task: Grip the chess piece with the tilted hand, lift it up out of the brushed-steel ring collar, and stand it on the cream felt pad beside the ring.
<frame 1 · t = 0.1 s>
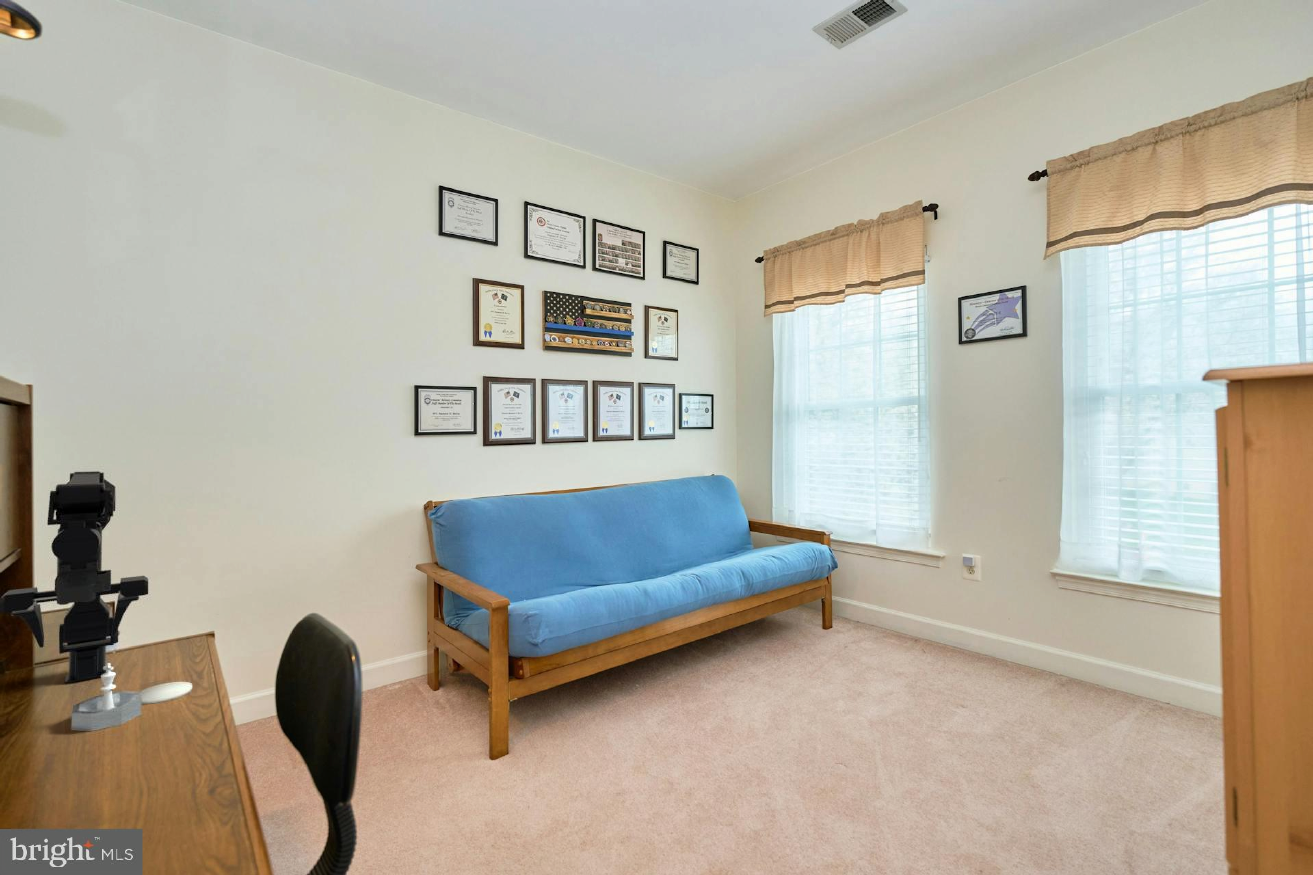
hand: (78, 641, 106), 15 cm above the table, tool pointing down, fingers open, 9 cm apart
ring collar: (107, 718, 108), on the table
felt pad: (163, 693, 119), on the table
chess piece: (107, 719, 108), resting in ring collar
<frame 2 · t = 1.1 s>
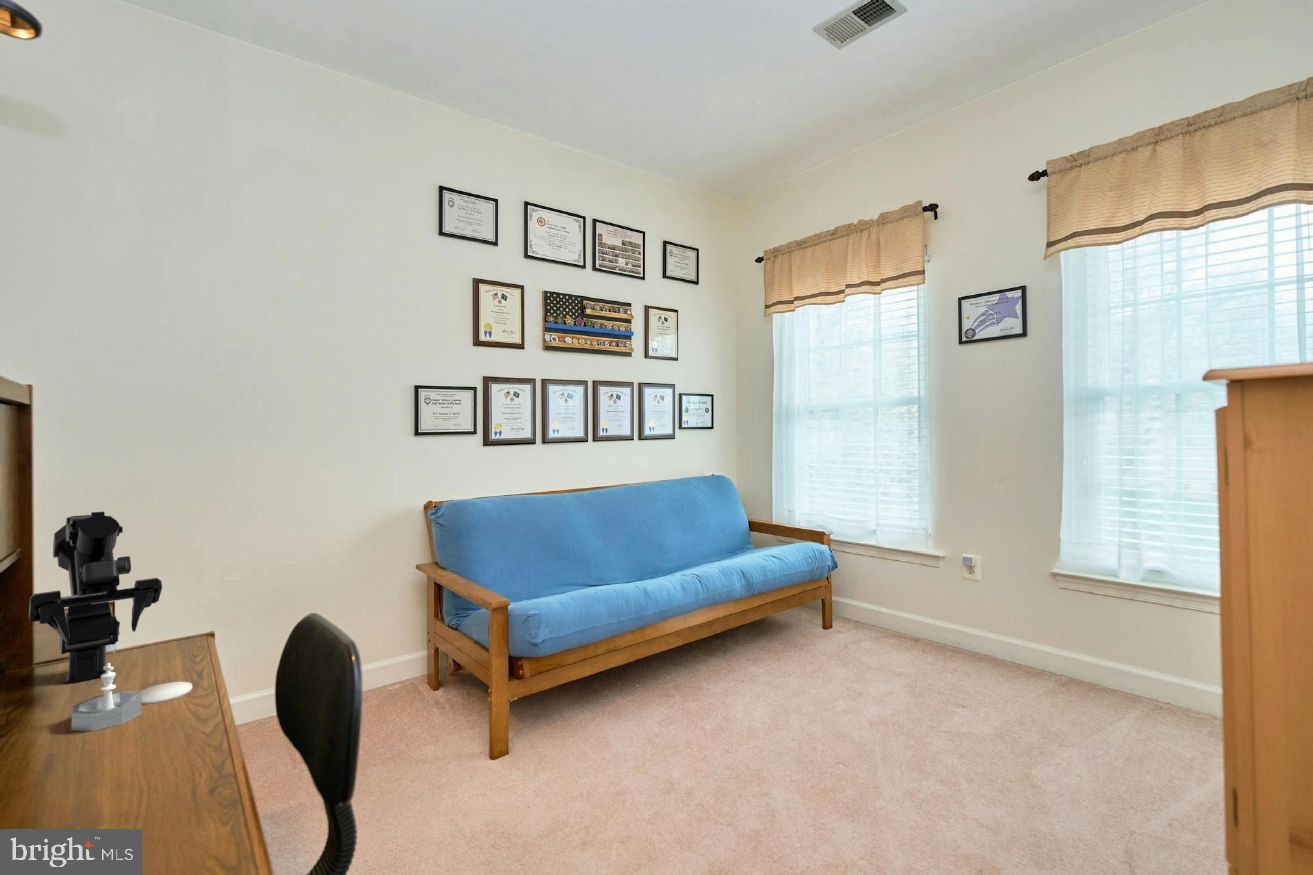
hand: (102, 636, 113), 13 cm above the table, tool tilted 45°, fingers open, 9 cm apart
nothing on the table moved.
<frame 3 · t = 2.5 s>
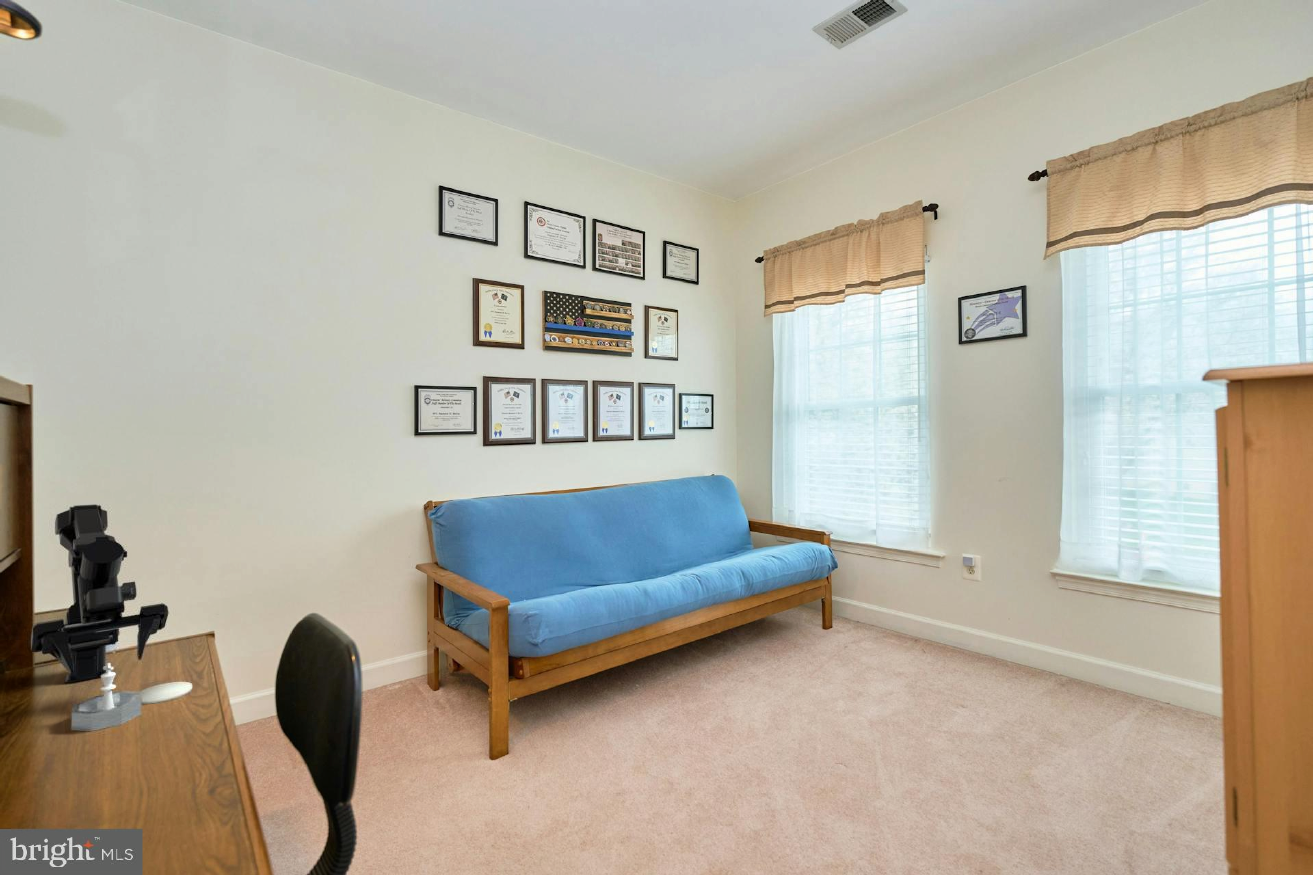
hand: (107, 665, 109), 9 cm above the table, tool tilted 45°, fingers open, 9 cm apart
nothing on the table moved.
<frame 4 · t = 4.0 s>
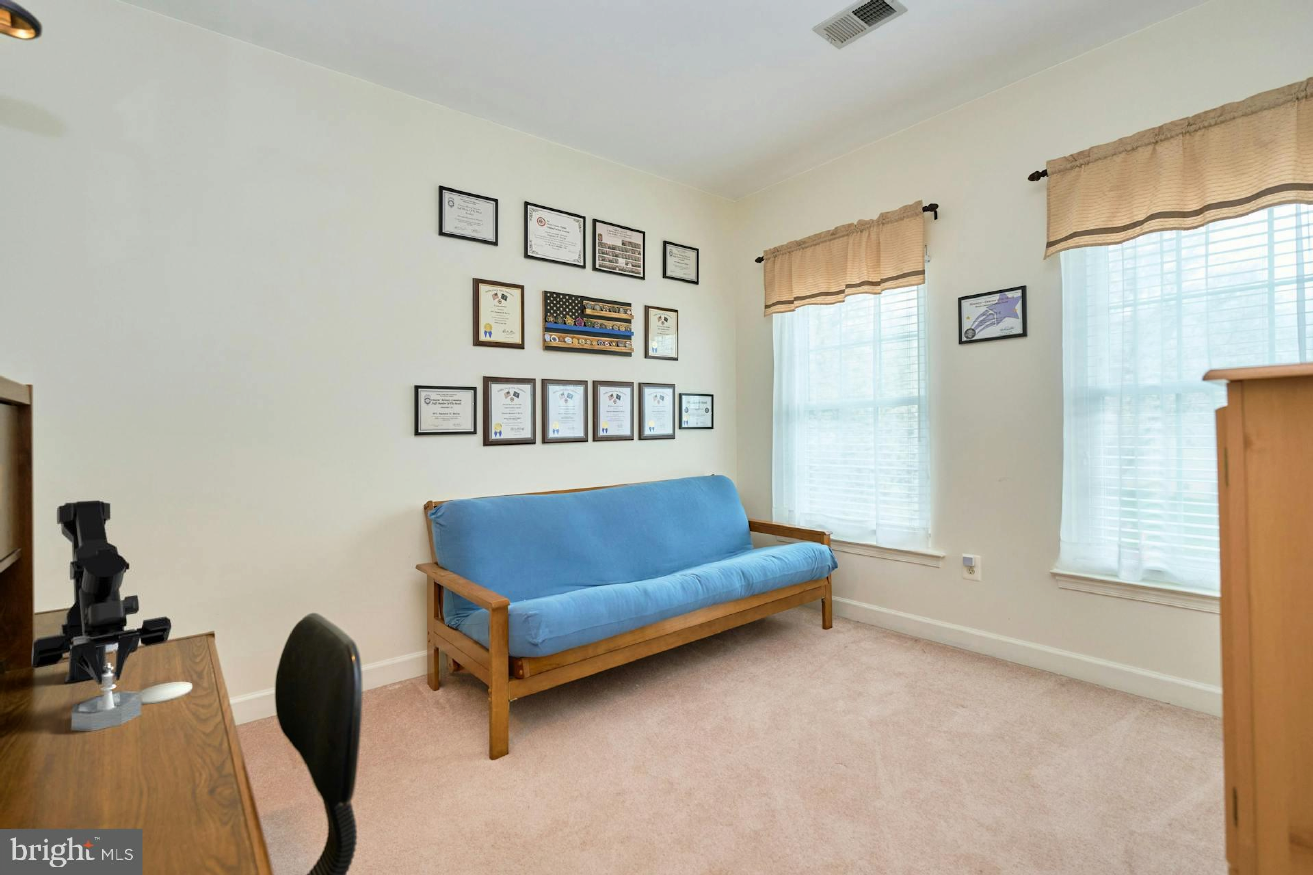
hand: (109, 681, 107), 7 cm above the table, tool tilted 45°, fingers closed on chess piece
chess piece: (107, 719, 108), resting in ring collar, touching gripper
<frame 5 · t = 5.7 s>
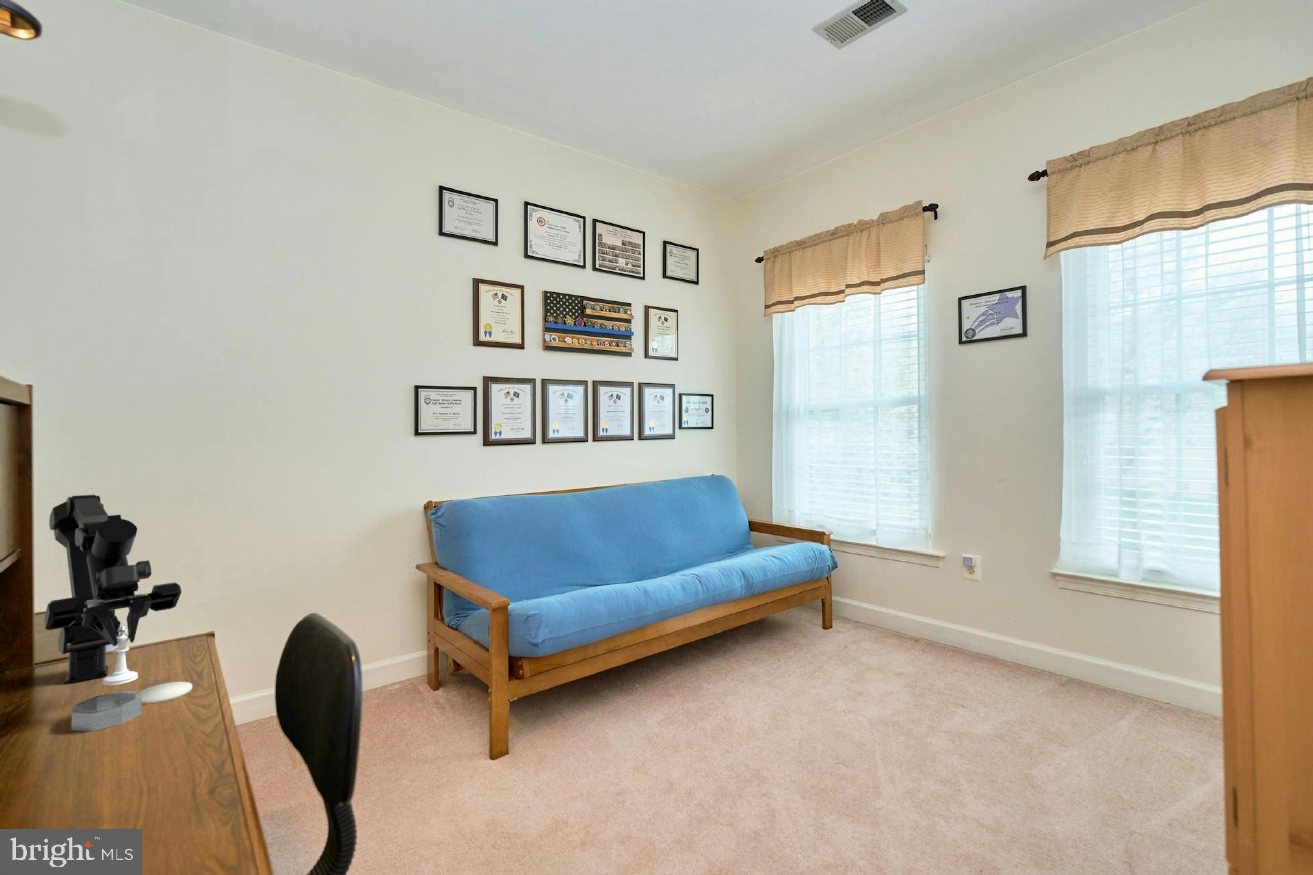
hand: (124, 642, 110), 13 cm above the table, tool tilted 45°, fingers closed on chess piece
chess piece: (120, 681, 110), point 6 cm above the table, touching gripper
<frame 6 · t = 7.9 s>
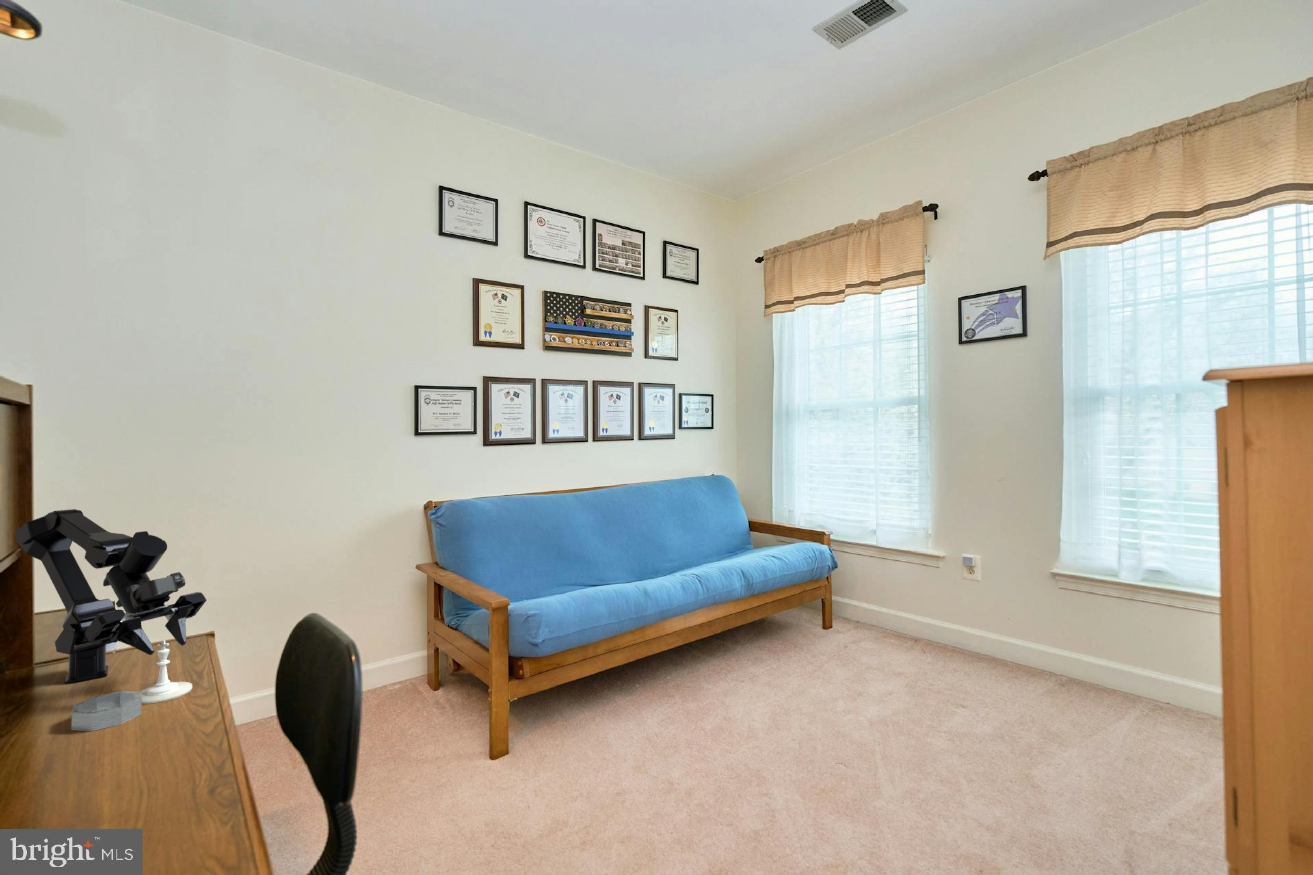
hand: (168, 648, 118), 9 cm above the table, tool tilted 45°, fingers open, 5 cm apart
chess piece: (162, 691, 119), resting on felt pad
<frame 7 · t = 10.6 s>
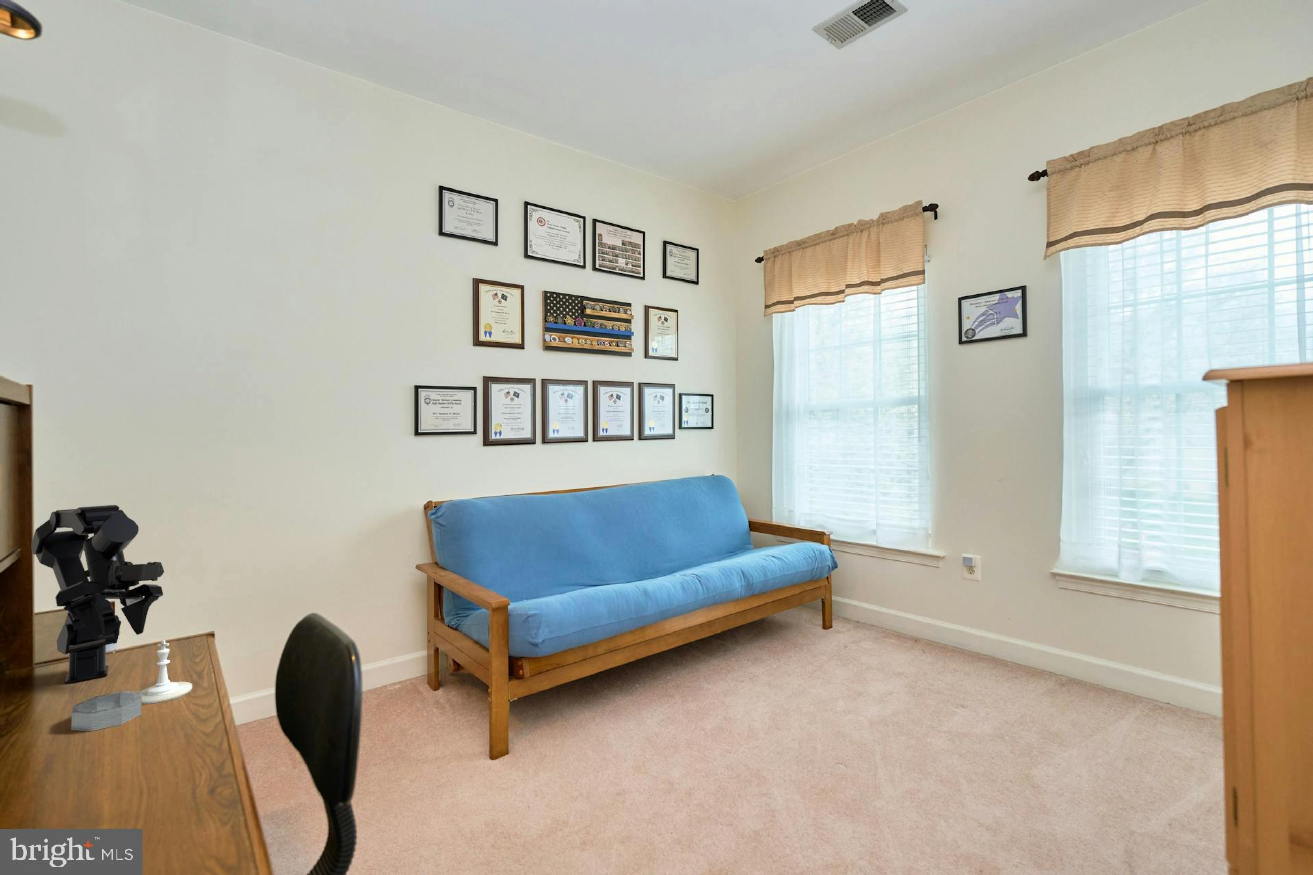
hand: (121, 634, 119), 12 cm above the table, tool tilted 30°, fingers open, 9 cm apart
nothing on the table moved.
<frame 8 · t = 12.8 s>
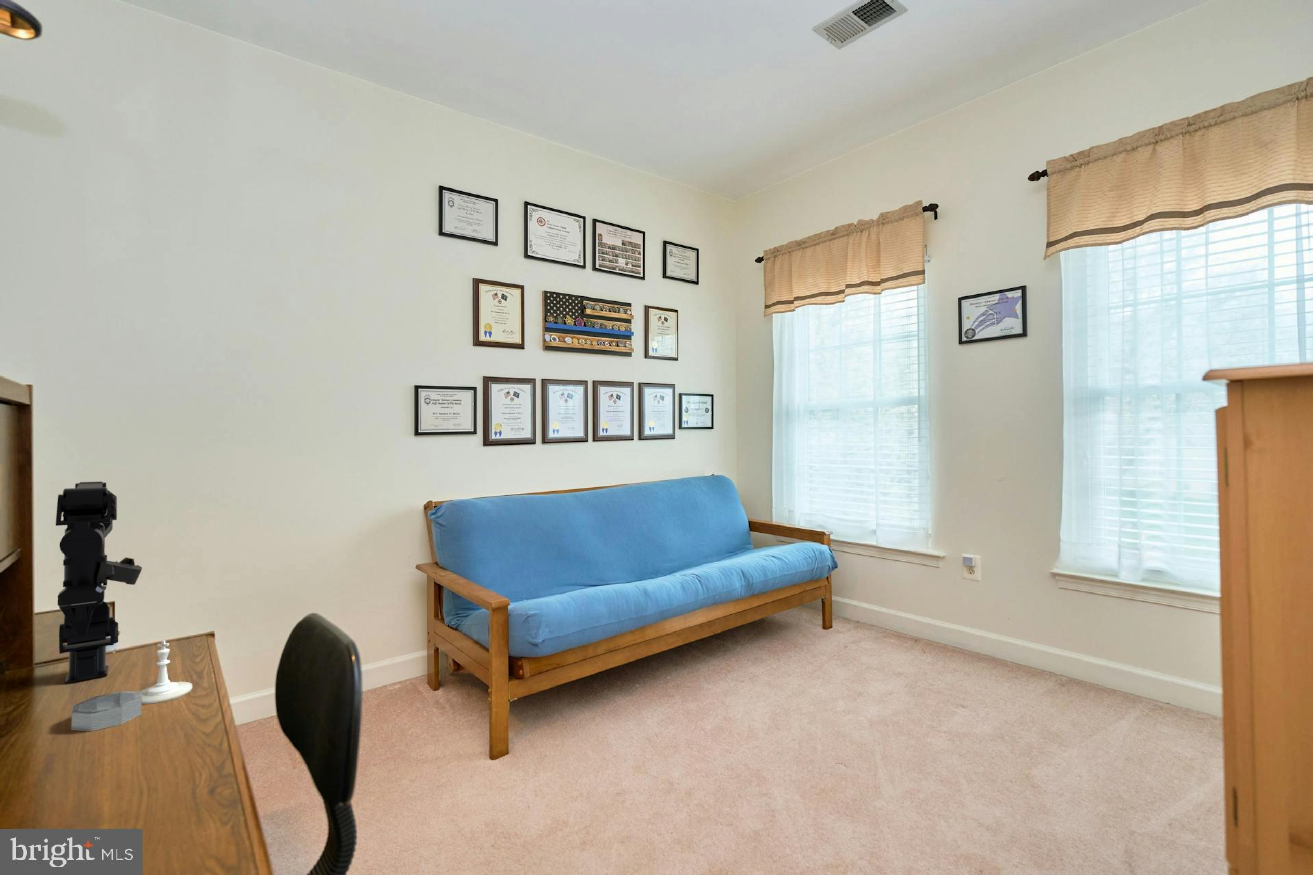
hand: (83, 631, 117), 13 cm above the table, tool pointing down, fingers open, 9 cm apart
nothing on the table moved.
at the end: chess piece 0.2 cm off-centre on the felt pad, point 0.4 cm above the felt pad's base; chess piece tilted 0°; the gripper is holding nothing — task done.
